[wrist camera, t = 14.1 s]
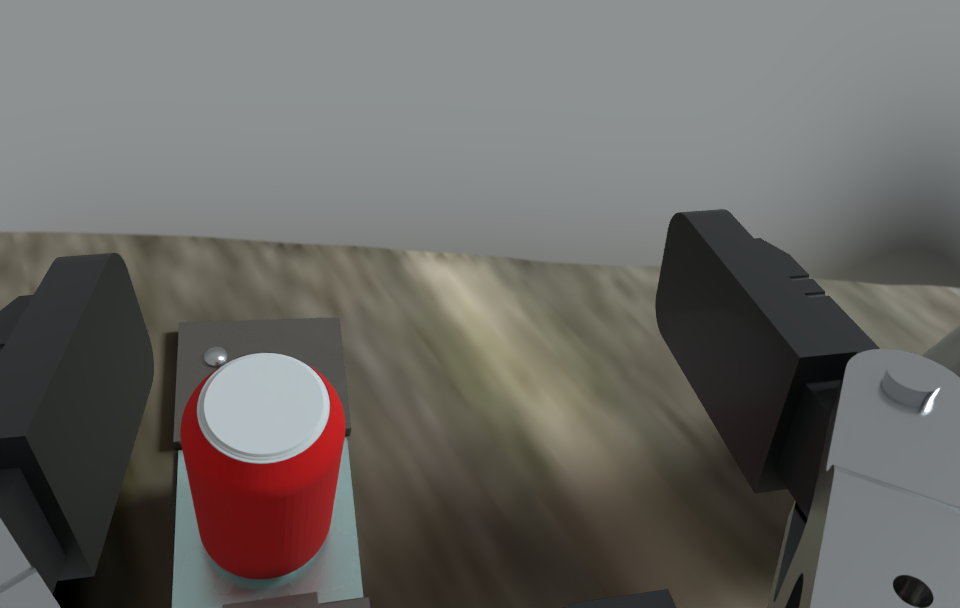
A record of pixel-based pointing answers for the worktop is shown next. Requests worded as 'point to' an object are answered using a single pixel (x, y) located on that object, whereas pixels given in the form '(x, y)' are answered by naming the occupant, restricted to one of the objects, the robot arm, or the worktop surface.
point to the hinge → (336, 566)
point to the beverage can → (263, 462)
